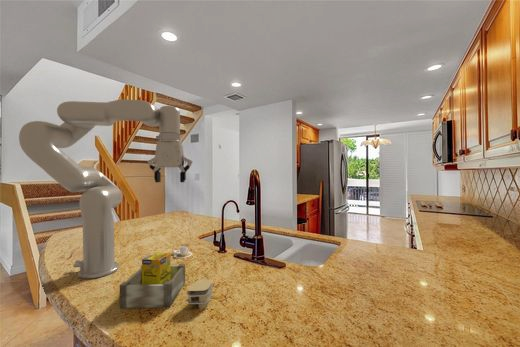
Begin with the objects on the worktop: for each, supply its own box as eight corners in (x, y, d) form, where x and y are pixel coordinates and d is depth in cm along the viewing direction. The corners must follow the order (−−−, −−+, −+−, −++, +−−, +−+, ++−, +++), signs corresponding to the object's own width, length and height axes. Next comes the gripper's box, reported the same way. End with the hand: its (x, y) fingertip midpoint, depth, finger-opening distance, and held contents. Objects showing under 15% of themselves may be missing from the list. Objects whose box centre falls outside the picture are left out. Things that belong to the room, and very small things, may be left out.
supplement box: (160, 297, 65) (159, 260, 65) (141, 296, 66) (140, 259, 66) (171, 287, 71) (171, 252, 71) (153, 286, 72) (153, 251, 72)
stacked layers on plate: (194, 293, 70) (194, 275, 70) (222, 296, 68) (222, 278, 68) (176, 313, 60) (176, 292, 60) (207, 317, 58) (207, 296, 58)
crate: (119, 308, 62) (119, 285, 62) (143, 283, 75) (143, 264, 75) (170, 307, 62) (170, 284, 62) (185, 282, 76) (184, 263, 76)
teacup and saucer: (170, 255, 102) (170, 246, 102) (187, 250, 108) (187, 242, 108) (177, 260, 96) (177, 251, 96) (195, 256, 101) (195, 247, 101)
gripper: (143, 137, 85) (143, 182, 86) (189, 137, 85) (189, 182, 86) (152, 140, 93) (152, 181, 93) (194, 140, 93) (194, 181, 93)
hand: (170, 182), depth 89 cm, fingers open, 9 cm apart
